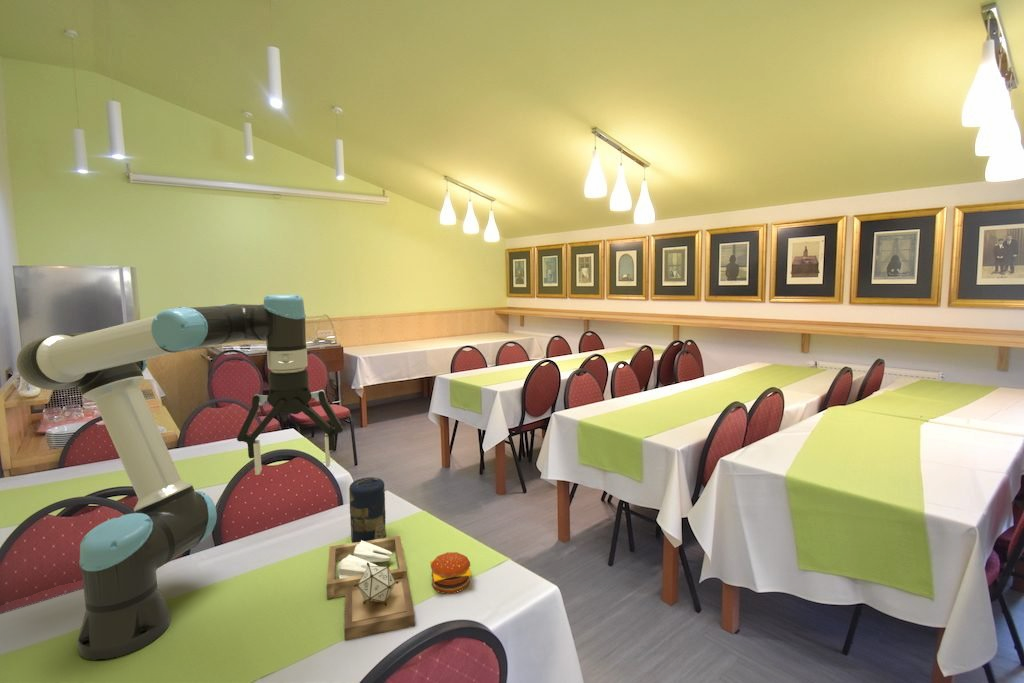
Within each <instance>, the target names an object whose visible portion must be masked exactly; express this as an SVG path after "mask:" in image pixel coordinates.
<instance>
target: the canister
mask: <svg viewBox="0 0 1024 683" xmlns="http://www.w3.org/2000/svg"><path fill="white" fill-rule="evenodd" d="M348 492H349V513H350V514H349V515H350V518H349V519H350V538H351V541H352V542H351V543H356V542H361V540H362V541H369V540H375V539H382V538H386V535H387V531H386V530H387V529H386V492H385V481H384V480H382V479H381V478H379V477H362V478H358V479H356V480H354V481H353V482H352V483H351V484H349V488H348Z"/></svg>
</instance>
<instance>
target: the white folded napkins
mask: <svg viewBox="0 0 1024 683" xmlns="http://www.w3.org/2000/svg"><path fill="white" fill-rule="evenodd" d="M353 555H354V556H353ZM353 555H350V554H349V555H348V556H347V557H346V558H344V559H342V560H340V561H339V563H338V564H337V567H336V569H337V570H336V571H337V575H338V576H337V577H338V579H341V578H347V577H353V576H358V575H363V574H364V573H365V571H366V569H367V568H368V566H367V562H368V563H369V566H378V565H377V564H376V563H384V562H387V561H391V559H392V558H391V557H390V556H393V555H394V552H390V551H388V550H386V549H383V548H381V547H378V546H376V545H373V544H370V543H368V542H365V541H362V540H361V542H360V544H357V546H356V547H355V550H354V554H353Z"/></svg>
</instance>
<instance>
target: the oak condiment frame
mask: <svg viewBox="0 0 1024 683" xmlns="http://www.w3.org/2000/svg"><path fill="white" fill-rule="evenodd" d="M365 542H368V543H370V544H373V545H376V546H378V547H381V548H383V549H386V550H388V551H390V552H392V553H395V558H396V563H397V564H396V565H397V568H393V569H389V570H390V572H391V574H392V576H393V578H394V580H398V579H404V578H408V571H407V565H406V560H405V554H404V550H403V545H402V544H403V543H402V540H401V536H400V535H396V536H389V537H385V538H382V539H375V540H369V541H365ZM357 544H360V542H356V543H353V542H349V543H344V544H337V545H331V546H329V550H328V561H327V563H328V564H327V572H326V573H327V574H326V575H327V576H326V599H327V600H330V599H335V598H340V597H345V589H348V588H353V587H355V586H353V585H355V584H358V583H359V581H360V579H361V578H362V576H363V575H358V576H353V577H347V578H341V579H339V578H337V579H336V574H337V573H336V572H337V570H336V569H337V562H341V560H342V559H344V558H346V557H347V556H348V555H349V554H350V555H353V554H354V550H355V547H356V546H357ZM353 556H354V555H353ZM356 587H358V586H356Z"/></svg>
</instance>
